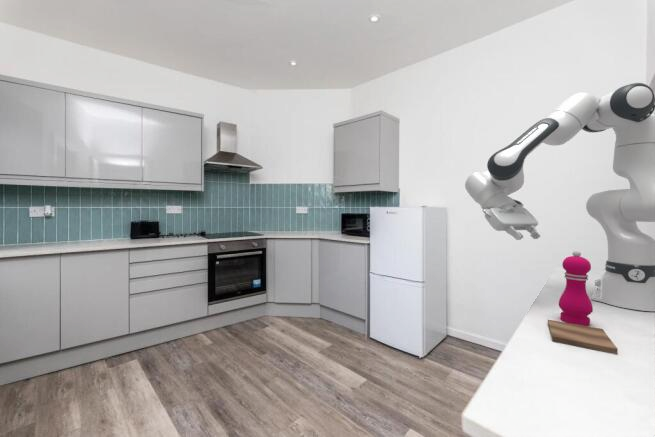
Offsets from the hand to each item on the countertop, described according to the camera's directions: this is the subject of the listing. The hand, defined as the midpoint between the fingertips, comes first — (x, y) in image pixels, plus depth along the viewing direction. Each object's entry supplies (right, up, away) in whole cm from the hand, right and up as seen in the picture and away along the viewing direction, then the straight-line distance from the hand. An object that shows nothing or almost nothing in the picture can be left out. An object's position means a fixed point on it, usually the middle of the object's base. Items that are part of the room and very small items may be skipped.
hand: (529, 238), depth 91 cm
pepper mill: (+5, -23, -11) cm, 26 cm away
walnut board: (-3, -23, -21) cm, 31 cm away
